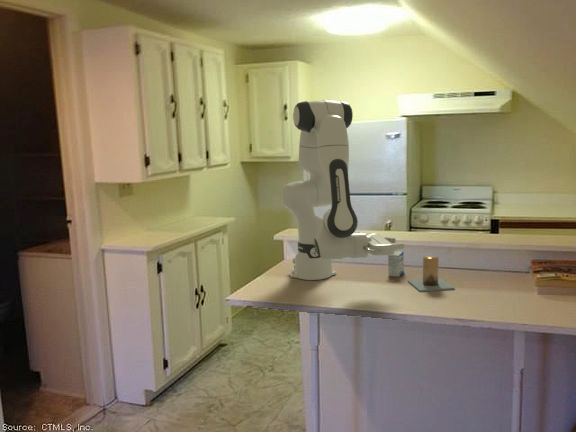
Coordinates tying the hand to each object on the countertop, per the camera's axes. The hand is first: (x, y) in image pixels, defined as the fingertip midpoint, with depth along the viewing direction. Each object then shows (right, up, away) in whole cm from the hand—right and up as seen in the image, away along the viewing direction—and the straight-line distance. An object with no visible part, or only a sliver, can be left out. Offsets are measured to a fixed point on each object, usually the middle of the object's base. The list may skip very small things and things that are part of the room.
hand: (399, 242), depth 185 cm
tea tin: (+14, -16, +9) cm, 23 cm away
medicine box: (+4, -14, +26) cm, 30 cm away
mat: (+14, -16, +9) cm, 23 cm away
